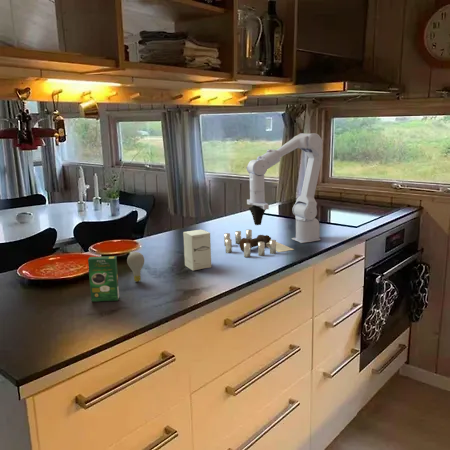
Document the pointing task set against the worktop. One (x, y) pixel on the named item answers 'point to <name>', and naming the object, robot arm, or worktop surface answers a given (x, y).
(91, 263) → the coffee box
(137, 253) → the light bulb
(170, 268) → the worktop surface
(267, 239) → the brown bone
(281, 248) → the mat
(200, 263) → the supplement box
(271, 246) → the spacers
